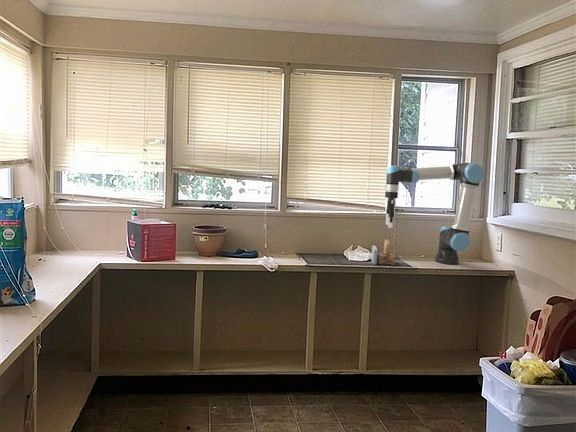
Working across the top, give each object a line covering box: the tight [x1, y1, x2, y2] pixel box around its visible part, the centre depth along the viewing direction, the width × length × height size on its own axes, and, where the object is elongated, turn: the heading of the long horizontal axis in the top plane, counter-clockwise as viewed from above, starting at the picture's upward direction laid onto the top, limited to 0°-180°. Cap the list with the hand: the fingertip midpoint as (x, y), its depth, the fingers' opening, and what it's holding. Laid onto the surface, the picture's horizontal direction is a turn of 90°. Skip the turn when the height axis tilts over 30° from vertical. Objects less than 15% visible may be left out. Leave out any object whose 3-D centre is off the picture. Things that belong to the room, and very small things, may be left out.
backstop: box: [370, 245, 379, 266], centre depth 371 cm, size 2×16×9 cm, turn 177°
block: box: [377, 252, 396, 266], centre depth 371 cm, size 10×10×5 cm
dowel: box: [383, 239, 391, 256], centre depth 371 cm, size 3×3×13 cm
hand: (389, 226), depth 369 cm, fingers open, 13 cm apart
